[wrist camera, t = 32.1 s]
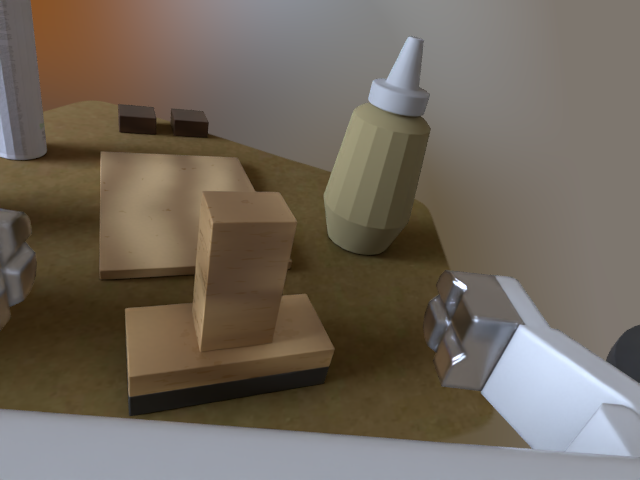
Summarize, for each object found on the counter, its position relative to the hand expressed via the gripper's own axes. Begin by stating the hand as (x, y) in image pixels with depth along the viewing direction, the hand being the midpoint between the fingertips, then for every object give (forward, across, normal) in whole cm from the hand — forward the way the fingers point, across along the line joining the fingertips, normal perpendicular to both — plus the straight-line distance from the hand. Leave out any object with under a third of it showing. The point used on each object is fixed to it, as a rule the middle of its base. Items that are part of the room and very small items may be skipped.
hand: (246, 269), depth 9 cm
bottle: (+36, +23, +16) cm, 46 cm away
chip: (+48, +15, +16) cm, 52 cm away
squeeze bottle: (+29, -10, +16) cm, 35 cm away
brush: (+12, 0, +16) cm, 20 cm away
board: (+30, +6, +16) cm, 35 cm away
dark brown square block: (+49, +9, +16) cm, 53 cm away
